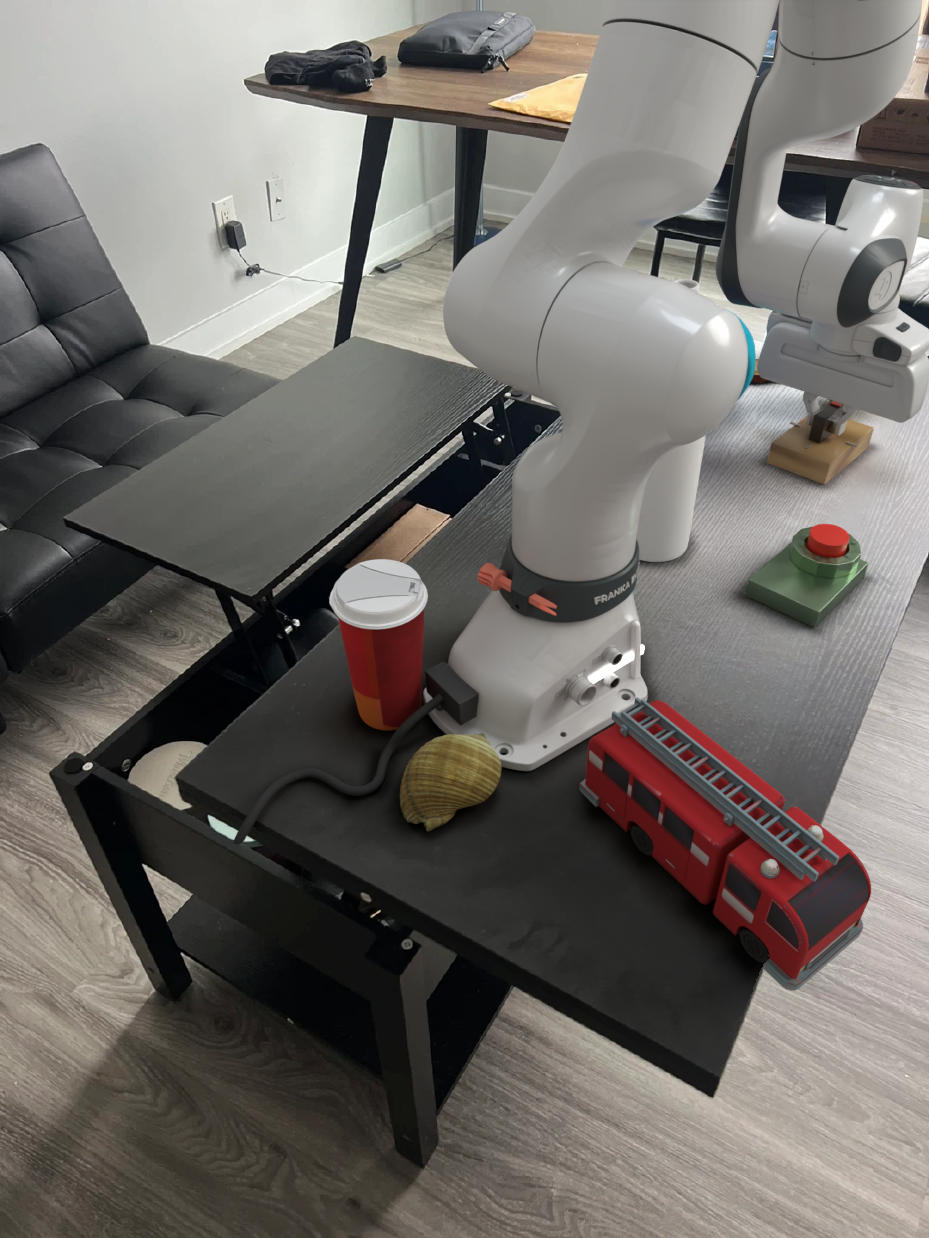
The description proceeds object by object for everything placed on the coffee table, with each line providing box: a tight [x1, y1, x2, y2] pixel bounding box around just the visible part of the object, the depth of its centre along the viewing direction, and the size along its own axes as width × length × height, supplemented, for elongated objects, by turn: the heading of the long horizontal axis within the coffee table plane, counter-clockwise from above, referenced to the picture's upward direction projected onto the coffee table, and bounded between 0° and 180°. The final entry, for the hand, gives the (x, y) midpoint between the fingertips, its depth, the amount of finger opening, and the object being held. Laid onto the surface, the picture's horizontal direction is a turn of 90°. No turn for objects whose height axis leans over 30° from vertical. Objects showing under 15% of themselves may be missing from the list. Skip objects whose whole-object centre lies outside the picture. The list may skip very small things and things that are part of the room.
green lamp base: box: [745, 526, 869, 629], centre depth 97 cm, size 12×8×4 cm, turn 136°
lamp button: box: [807, 523, 850, 558], centre depth 97 cm, size 4×4×2 cm
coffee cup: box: [328, 558, 429, 731], centre depth 81 cm, size 8×8×15 cm
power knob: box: [808, 401, 844, 444], centre depth 115 cm, size 5×2×4 cm, turn 136°
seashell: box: [399, 733, 503, 832], centre depth 77 cm, size 10×7×8 cm
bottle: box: [636, 278, 707, 563], centre depth 95 cm, size 8×8×30 cm
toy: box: [579, 697, 872, 992], centre depth 69 cm, size 8×22×10 cm, turn 35°
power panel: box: [766, 414, 875, 485], centre depth 117 cm, size 12×9×3 cm
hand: (824, 428), depth 116 cm, fingers closed on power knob, 2 cm apart
